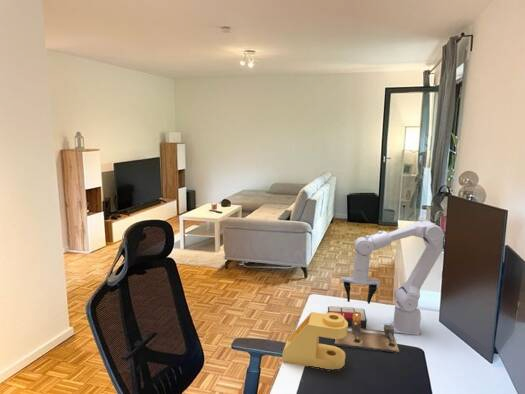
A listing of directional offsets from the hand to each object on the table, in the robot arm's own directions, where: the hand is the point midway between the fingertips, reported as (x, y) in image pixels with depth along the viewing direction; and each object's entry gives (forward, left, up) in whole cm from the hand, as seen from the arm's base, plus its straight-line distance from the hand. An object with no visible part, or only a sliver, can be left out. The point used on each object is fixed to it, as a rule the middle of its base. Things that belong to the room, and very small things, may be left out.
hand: (358, 301), depth 148 cm
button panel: (+4, -4, -11) cm, 12 cm away
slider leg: (+1, +10, -9) cm, 13 cm away
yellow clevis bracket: (+16, +26, -11) cm, 32 cm away
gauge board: (-2, +10, -10) cm, 15 cm away
